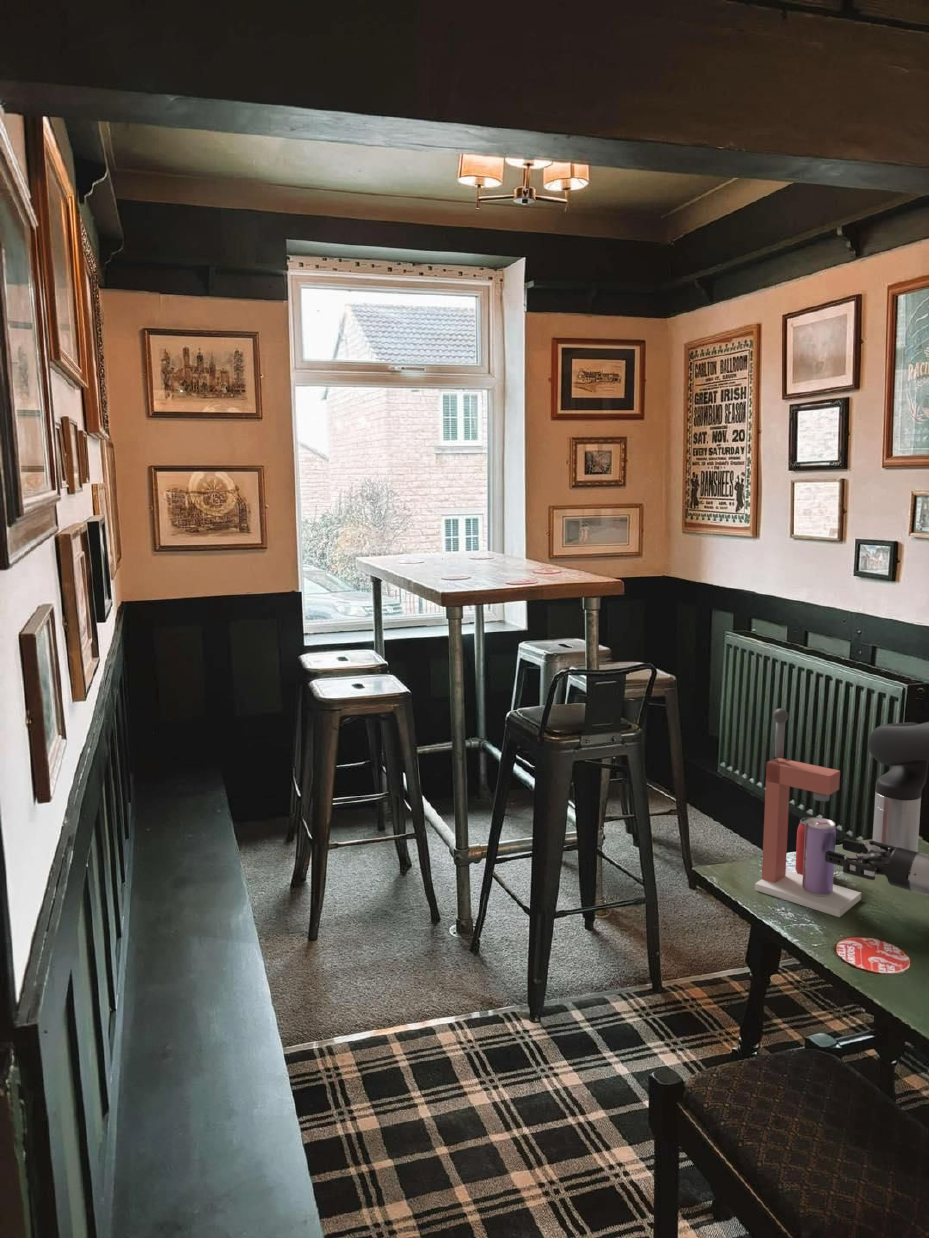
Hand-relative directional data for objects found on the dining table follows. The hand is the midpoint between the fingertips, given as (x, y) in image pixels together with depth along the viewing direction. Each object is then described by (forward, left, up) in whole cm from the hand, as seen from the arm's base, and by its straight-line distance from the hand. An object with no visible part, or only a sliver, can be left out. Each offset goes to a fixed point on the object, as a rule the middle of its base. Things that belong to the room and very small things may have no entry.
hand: (834, 849), depth 185 cm
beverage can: (0, -3, -10) cm, 11 cm away
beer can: (-11, -9, -12) cm, 19 cm away
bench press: (0, -5, -11) cm, 13 cm away
